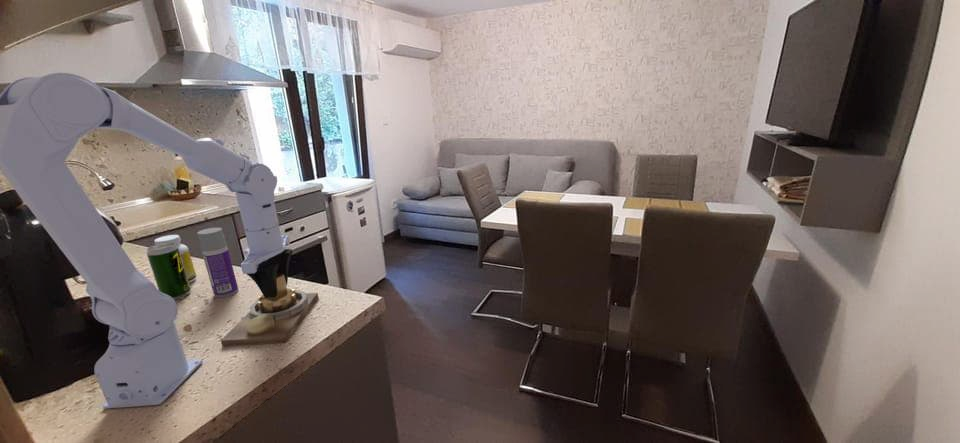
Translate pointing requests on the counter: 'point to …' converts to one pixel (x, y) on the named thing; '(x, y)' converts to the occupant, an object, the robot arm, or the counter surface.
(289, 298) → the planet gear
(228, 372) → the counter surface
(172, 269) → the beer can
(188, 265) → the pill bottle
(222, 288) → the container
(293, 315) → the carrier board
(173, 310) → the robot arm
